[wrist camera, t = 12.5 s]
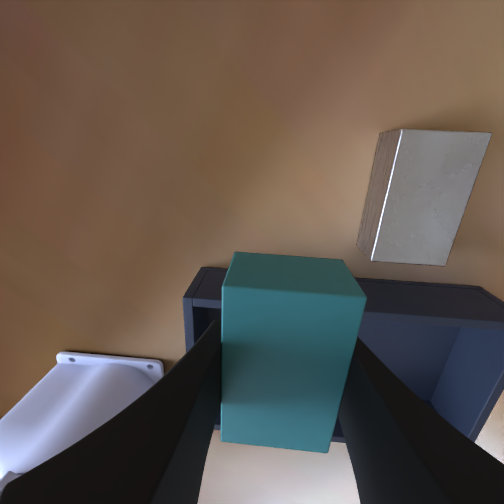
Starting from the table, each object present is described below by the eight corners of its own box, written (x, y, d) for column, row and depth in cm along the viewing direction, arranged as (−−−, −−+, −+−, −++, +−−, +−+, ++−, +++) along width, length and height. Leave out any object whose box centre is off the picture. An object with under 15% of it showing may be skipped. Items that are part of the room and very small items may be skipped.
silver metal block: (355, 245, 17) (370, 261, 15) (379, 132, 15) (402, 128, 12) (418, 249, 17) (445, 267, 15) (453, 135, 15) (493, 132, 12)
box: (204, 379, 23) (190, 427, 19) (201, 266, 19) (182, 297, 15) (431, 400, 22) (467, 455, 18) (480, 286, 18) (540, 324, 14)
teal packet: (230, 382, 13) (220, 442, 10) (234, 250, 10) (221, 285, 7) (316, 391, 12) (328, 454, 10) (342, 258, 10) (368, 297, 7)
